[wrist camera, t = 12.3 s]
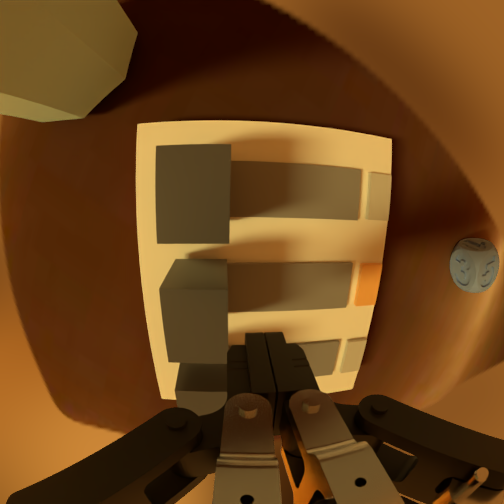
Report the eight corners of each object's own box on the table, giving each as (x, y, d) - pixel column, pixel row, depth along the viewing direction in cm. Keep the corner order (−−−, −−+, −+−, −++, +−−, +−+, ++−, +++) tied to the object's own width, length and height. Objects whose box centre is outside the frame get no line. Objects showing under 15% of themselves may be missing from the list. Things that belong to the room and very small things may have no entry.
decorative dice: (473, 234, 21) (501, 245, 17) (471, 271, 22) (497, 284, 19) (449, 243, 21) (478, 255, 17) (448, 282, 22) (474, 297, 18)
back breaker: (228, 345, 18) (230, 391, 14) (229, 388, 19) (231, 434, 15) (183, 345, 18) (174, 390, 13) (188, 388, 19) (183, 433, 14)
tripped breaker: (226, 258, 16) (227, 289, 12) (227, 319, 17) (228, 363, 13) (175, 258, 16) (159, 289, 12) (179, 319, 17) (168, 362, 13)
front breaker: (229, 153, 15) (231, 144, 10) (228, 224, 16) (229, 243, 11) (175, 153, 14) (156, 145, 10) (175, 224, 15) (156, 243, 11)
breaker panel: (374, 141, 18) (395, 138, 15) (342, 372, 23) (353, 391, 21) (148, 130, 17) (135, 122, 14) (166, 379, 22) (161, 401, 19)
